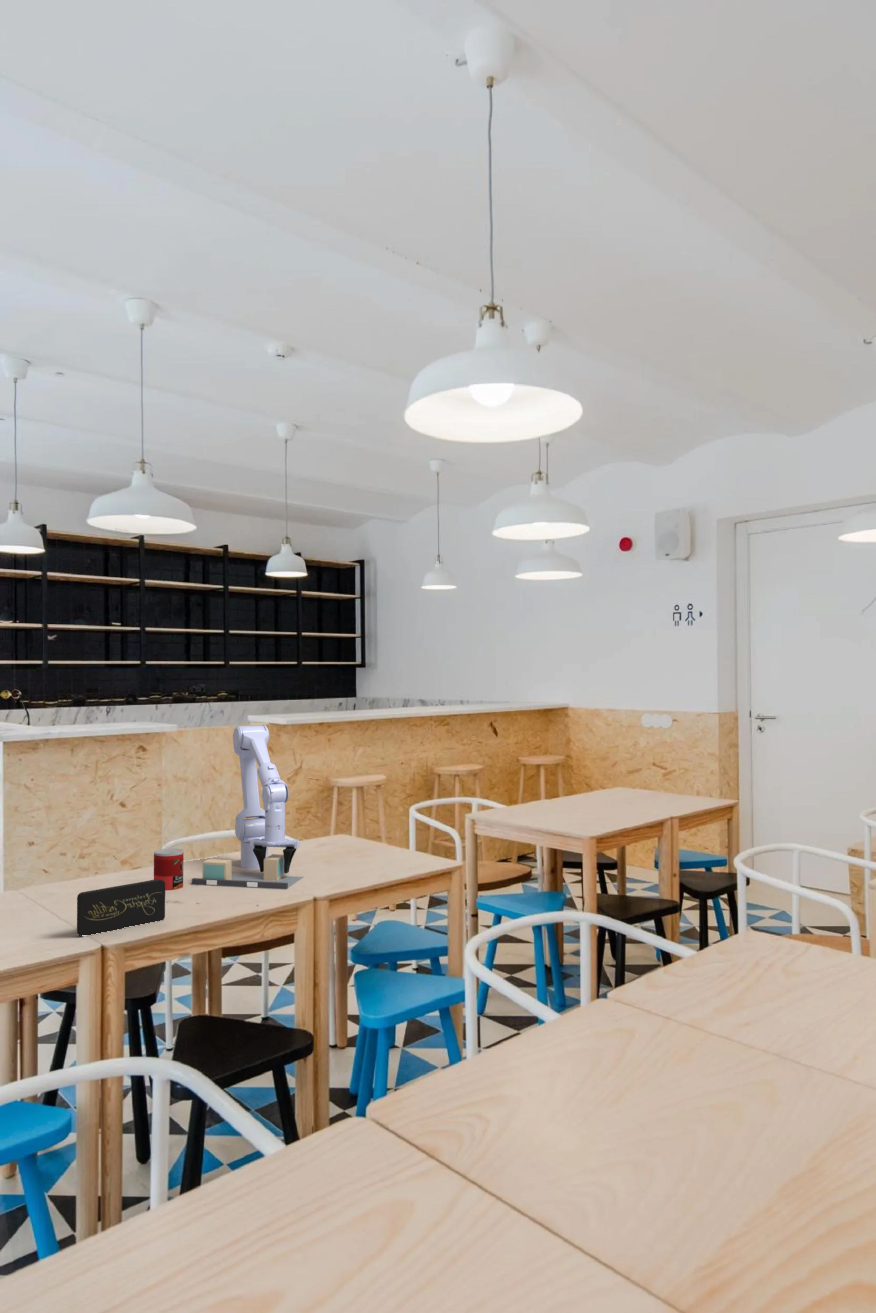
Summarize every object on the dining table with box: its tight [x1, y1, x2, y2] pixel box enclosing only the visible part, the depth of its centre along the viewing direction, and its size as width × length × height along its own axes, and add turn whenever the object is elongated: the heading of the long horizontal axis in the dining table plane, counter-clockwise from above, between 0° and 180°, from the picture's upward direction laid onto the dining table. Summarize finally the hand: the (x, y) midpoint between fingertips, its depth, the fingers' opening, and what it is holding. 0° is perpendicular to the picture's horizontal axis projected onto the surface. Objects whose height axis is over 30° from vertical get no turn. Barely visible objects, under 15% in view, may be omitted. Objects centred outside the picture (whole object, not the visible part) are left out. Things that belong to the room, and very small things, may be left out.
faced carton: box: [201, 858, 233, 880], centre depth 253 cm, size 7×4×6 cm, turn 80°
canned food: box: [153, 847, 185, 892], centre depth 247 cm, size 8×8×11 cm
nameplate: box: [76, 879, 166, 937], centre depth 212 cm, size 21×2×10 cm, turn 134°
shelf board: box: [191, 872, 304, 891], centre depth 255 cm, size 15×28×2 cm, turn 80°
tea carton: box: [263, 853, 286, 881], centre depth 259 cm, size 7×4×6 cm, turn 170°
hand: (274, 871), depth 259 cm, fingers open, 7 cm apart
